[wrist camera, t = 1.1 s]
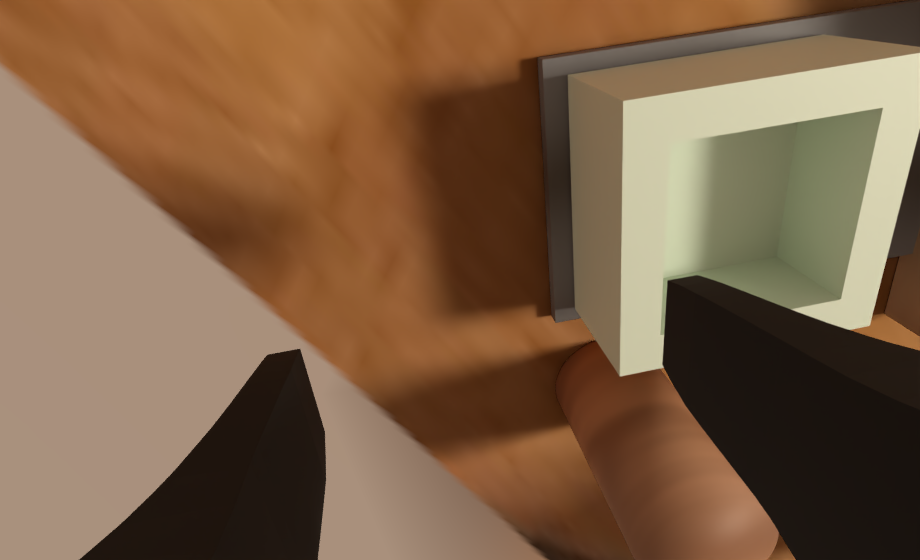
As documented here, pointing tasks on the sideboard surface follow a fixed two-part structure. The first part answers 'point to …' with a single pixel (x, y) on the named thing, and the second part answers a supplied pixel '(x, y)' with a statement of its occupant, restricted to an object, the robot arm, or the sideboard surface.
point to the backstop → (907, 23)
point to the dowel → (659, 466)
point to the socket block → (738, 181)
